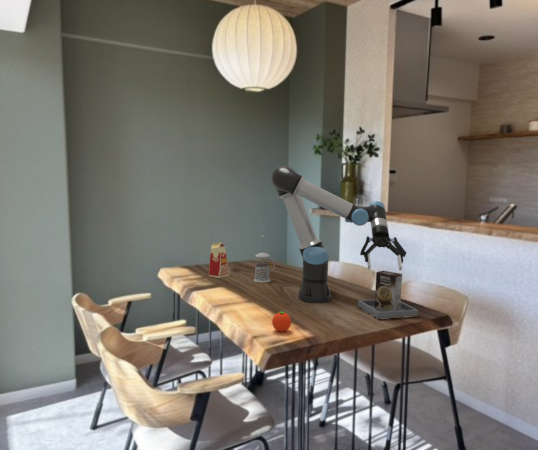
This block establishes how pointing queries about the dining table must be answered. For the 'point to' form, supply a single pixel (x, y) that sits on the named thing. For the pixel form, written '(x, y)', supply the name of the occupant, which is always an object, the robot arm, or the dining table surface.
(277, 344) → the dining table surface
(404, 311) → the tray
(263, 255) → the french press
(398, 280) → the coffee box
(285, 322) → the clementine
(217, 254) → the milk carton
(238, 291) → the dining table surface
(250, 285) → the dining table surface
